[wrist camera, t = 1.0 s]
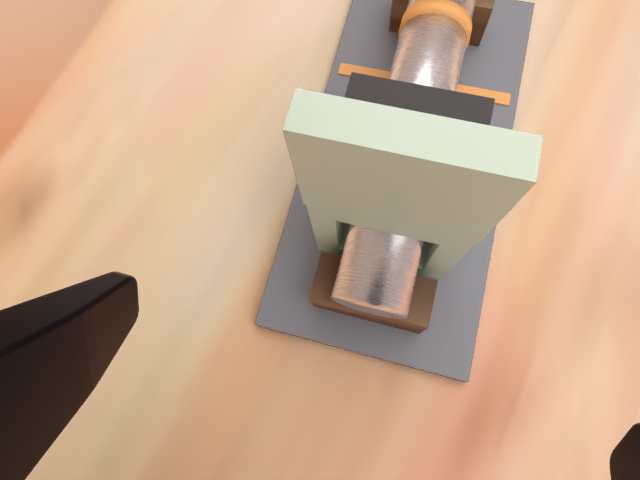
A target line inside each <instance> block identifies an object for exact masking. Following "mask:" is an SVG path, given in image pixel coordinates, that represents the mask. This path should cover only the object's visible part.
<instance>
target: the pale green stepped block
mask: <svg viewBox="0 0 640 480" xmlns="http://www.w3.org/2000/svg"><path fill="white" fill-rule="evenodd" d="M283 133H284V137H285V140H286V144H287V147H288V151H289V154H290V158H291V162H292V165H293V169H294V172H295V176H296V179H297V183H298V186H299V190H300V194H301V197H302V201H303V204H306V206H307V209H308V213H309V217H310V221H311V224H312V228H313V232H314V236H315V239H316V243H317V247H318V249H319V250H323V251H327V252H331V253H335V254H339V255H342V253H343V249H344V246H345V242H346V238H347V234H348V230H349V227H350V224H352V225H356V226H361V227H365V228H369V229H374V230H378V231H382V232H387V233H391V234H395V235H399V236H404V237H408V238H412V239H417V240H421V241H424V243H423V247H422V252H421V257H420V261H419V266H418V271H417V273H418V274H422V275H426V276H430V277H434V278H438V279H443V278H444V277H445V276H446V275H447V274H448V273H449V272H450V271H451V270H452V268H453V267H454V266H455V265H456V264H457V263H458V262H459V261H460V260H461V259H462V258H463V256H464V255H465V254H466V253H467V252H468V251H469V250H470V249H471V248H472V247H473V245H474V244H475V243H476V244H479V243H480V242H481V241H482V240H483V239H484V238H485V237H486V235H487V234H488V233H489V232H490V231H491V230H492V229H493V228H494V227H495V226H496V225H497V224H498V223H499V222H500V221H501V219H502V218H503V217H504V216H505V215H506V214H507V213H508V212H509V211H510V210H511V209H512V208H513V207H514V206H515V205H516V204H517V202H518V201H519V200H520V199H521V198H522V197H523V196H524V195H525V194H526V193H527V192H528V191H529V190H530V189H531V188H532V186H533V185H534V184H535V183H536V181H537V175H538V168H539V162H540V155H541V149H542V142H543V136H541V135H536V134H531V133H526V132H521V131H515V130H510V129H505V128H500V127H495V126H490V125H484V124H479V123H474V122H469V121H464V120H459V119H454V118H448V117H443V116H438V115H433V114H428V113H423V112H417V111H412V110H407V109H402V108H397V107H392V106H386V105H381V104H376V103H371V102H366V101H361V100H356V99H350V98H345V97H340V96H335V95H330V94H325V93H319V92H314V91H309V90H304V89H299V88H296V90H295V93H294V96H293V99H292V102H291V105H290V108H289V111H288V114H287V117H286V120H285V124H284V127H283Z"/></svg>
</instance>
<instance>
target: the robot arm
mask: <svg viewBox="0 0 640 480" xmlns="http://www.w3.org/2000/svg"><path fill="white" fill-rule="evenodd" d="M138 312H139V305H138V289H137V281H136V279H135V278H134V277H133V276H130V275H127V274H123V273H120V272H110V273H107V274H104V275H101V276H98V277H96V278H93V279H90V280H87V281H84V282H81V283H78V284H75V285H72V286H70V287H67V288H64V289H61V290H58V291H55V292H52V293H49V294H46V295H43V296H41V297H38V298H35V299H32V300H29V301H26V302H23V303H20V304H17V305H15V306H12V307H9V308H6V309H3V310H0V480H25V479H26V477H27V476H28V475H29V474H30V472H31V471H32V470H33V468H34V467H35V466H36V464H37V463H38V462H39V461H40V459H41V458H42V457H43V455H44V454H45V453H46V451H47V450H48V449H49V448H50V446H51V445H52V444H53V442H54V441H55V440H56V438H57V437H58V436H59V435H60V433H61V432H62V431H63V429H64V428H65V427H66V425H67V424H68V423H69V422H70V420H71V419H72V418H73V416H74V415H75V414H76V412H77V411H78V410H79V409H80V407H81V406H82V405H83V403H84V402H85V401H86V399H87V398H88V397H89V395H90V394H91V392H92V391H93V390H94V388H95V387H96V385H97V384H98V382H99V381H100V379H101V377H102V376H103V374H104V373H105V371H106V369H107V368H108V366H109V364H110V363H111V361H112V360H113V358H114V356H115V355H116V353H117V351H118V350H119V348H120V346H121V345H122V343H123V342H124V340H125V338H126V337H127V335H128V333H129V332H130V330H131V329H132V327H133V325H134V324H135V322H136V320H137V317H138ZM610 473H611V480H640V423H637V424H635V425H633V426H632V427H631V429H630V430H629V431H628V432H627V434H626V435H625V436H624V437H623V439H622V440H621V441H620V442H619V444H618V445H617V446H616V447H615V449H614V450H613V452H612V454H611V457H610Z"/></svg>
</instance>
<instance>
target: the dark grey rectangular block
mask: <svg viewBox="0 0 640 480" xmlns="http://www.w3.org/2000/svg"><path fill="white" fill-rule="evenodd" d="M345 98H350V99H356V100H361V101H366V102H371V103H376V104H381V105H386V106H392V107H397V108H402V109H407V110H412V111H417V112H423V113H428V114H433V115H438V116H443V117H448V118H454V119H459V120H464V121H469V122H474V123H479V124H484V125H490V123H491V118H492V113H493V107H494V102H495V98H489V97H484V96H479V95H473V94H468V93H462V92H457V91H452V90H446V89H441V88H436V87H430V86H425V85H419V84H414V83H409V82H403V81H398V80H392V79H387V78H382V77H376V76H371V75H366V74H360V73H355V72H351V76H350V79H349V83H348V86H347V90H346V93H345Z"/></svg>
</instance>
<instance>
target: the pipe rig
mask: <svg viewBox="0 0 640 480" xmlns="http://www.w3.org/2000/svg"><path fill="white" fill-rule="evenodd" d="M533 9H534V3H531V2H524V1H518V0H353V1H352V5H351V8H350V11H349V15H348V18H347V21H346V25H345V28H344V31H343V34H342V38H341V41H340V44H339V48H338V51H337V54H336V57H335V61H334V64H333V67H332V71H331V74H330V77H329V81H328V84H327V87H326V90H325V94H330V95H335V96H340V97H345V93H346V90H347V86H348V83H349V79H350V76H351V72H355V73H360V74H366V75H371V76H376V77H382V78H387V79H392V80H398V81H403V82H409V83H414V84H419V85H425V86H430V87H436V88H441V89H446V90H452V91H457V92H462V93H468V94H473V95H479V96H484V97H489V98H495V102H494V107H493V113H492V118H491V123H490V126H495V127H500V128H505V129H510V130H512V129H513V124H514V118H515V112H516V106H517V101H518V95H519V89H520V83H521V78H522V72H523V66H524V60H525V55H526V49H527V43H528V37H529V32H530V26H531V20H532V14H533ZM495 227H496V226H495ZM495 227H494V228H493V229H492V230H491V231H490V232H489V233H488V234H487V235H486V237H485V238H484V239H483V240H482V241H481V242H480V243H479V244H476V243H475V244H474V245H473V247H472V248H471V249H470V250H469V251H468V252H467V253H466V254H465V255H464V256H463V258H462V259H461V260H460V261H459V262H458V263H457V264H456V265H455V266H454V267H453V268H452V270H451V271H450V272H449V273H448V274H447V275H446V276H445V277H444V278H443V279H438V278H434V277H430V276H426V275H422V274H418V273H417V271H418V266H419V261H420V257H421V252H422V247H423V243H424V241H421V240H417V239H412V238H408V237H404V236H399V235H395V234H391V233H387V232H382V231H378V230H374V229H369V228H365V227H361V226H356V225H352V224H350V227H349V230H348V234H347V238H346V242H345V246H344V249H343V253H342V255H339V254H335V253H331V252H327V251H323V250H319V249H318V247H317V243H316V239H315V236H314V232H313V228H312V224H311V221H310V217H309V213H308V209H307V206H306V204H303V201H302V197H301V194H300V190H299V186H298V183H297V186H296V189H295V193H294V196H293V199H292V202H291V206H290V209H289V212H288V216H287V219H286V222H285V225H284V229H283V232H282V235H281V239H280V242H279V245H278V249H277V252H276V255H275V258H274V262H273V265H272V268H271V272H270V275H269V278H268V281H267V285H266V288H265V291H264V295H263V298H262V301H261V305H260V308H259V311H258V314H257V318H256V321H255V325H257V326H261V327H264V328H268V329H272V330H276V331H279V332H283V333H287V334H290V335H294V336H298V337H301V338H305V339H309V340H312V341H316V342H320V343H323V344H327V345H331V346H335V347H338V348H342V349H346V350H349V351H353V352H357V353H360V354H364V355H368V356H371V357H375V358H379V359H383V360H386V361H390V362H394V363H397V364H401V365H405V366H408V367H412V368H416V369H419V370H423V371H427V372H430V373H434V374H438V375H442V376H445V377H449V378H453V379H456V380H460V381H464V382H469V377H470V371H471V365H472V359H473V354H474V348H475V342H476V336H477V331H478V325H479V319H480V313H481V308H482V302H483V296H484V290H485V285H486V279H487V273H488V267H489V262H490V256H491V250H492V244H493V239H494V233H495Z"/></svg>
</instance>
